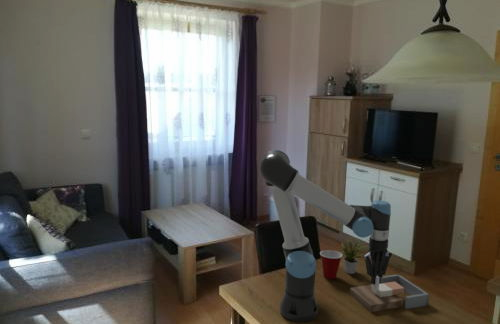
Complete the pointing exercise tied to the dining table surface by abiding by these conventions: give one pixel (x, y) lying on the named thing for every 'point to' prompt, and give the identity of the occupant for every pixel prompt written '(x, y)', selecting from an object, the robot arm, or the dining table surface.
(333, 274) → the plastic cup
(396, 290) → the terracotta tile
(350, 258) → the house plant
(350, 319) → the dining table surface
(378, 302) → the walnut plate
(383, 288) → the cream tile
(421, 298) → the box
